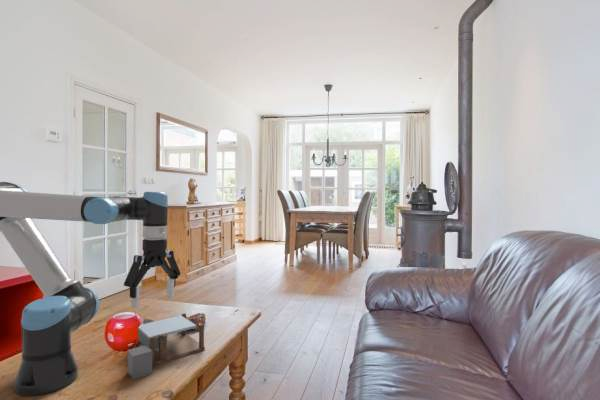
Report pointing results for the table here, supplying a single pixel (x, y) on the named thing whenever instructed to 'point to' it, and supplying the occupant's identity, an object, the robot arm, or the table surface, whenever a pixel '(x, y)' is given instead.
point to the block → (139, 362)
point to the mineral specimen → (197, 319)
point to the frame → (174, 345)
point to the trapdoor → (163, 329)
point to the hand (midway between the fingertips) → (153, 302)
